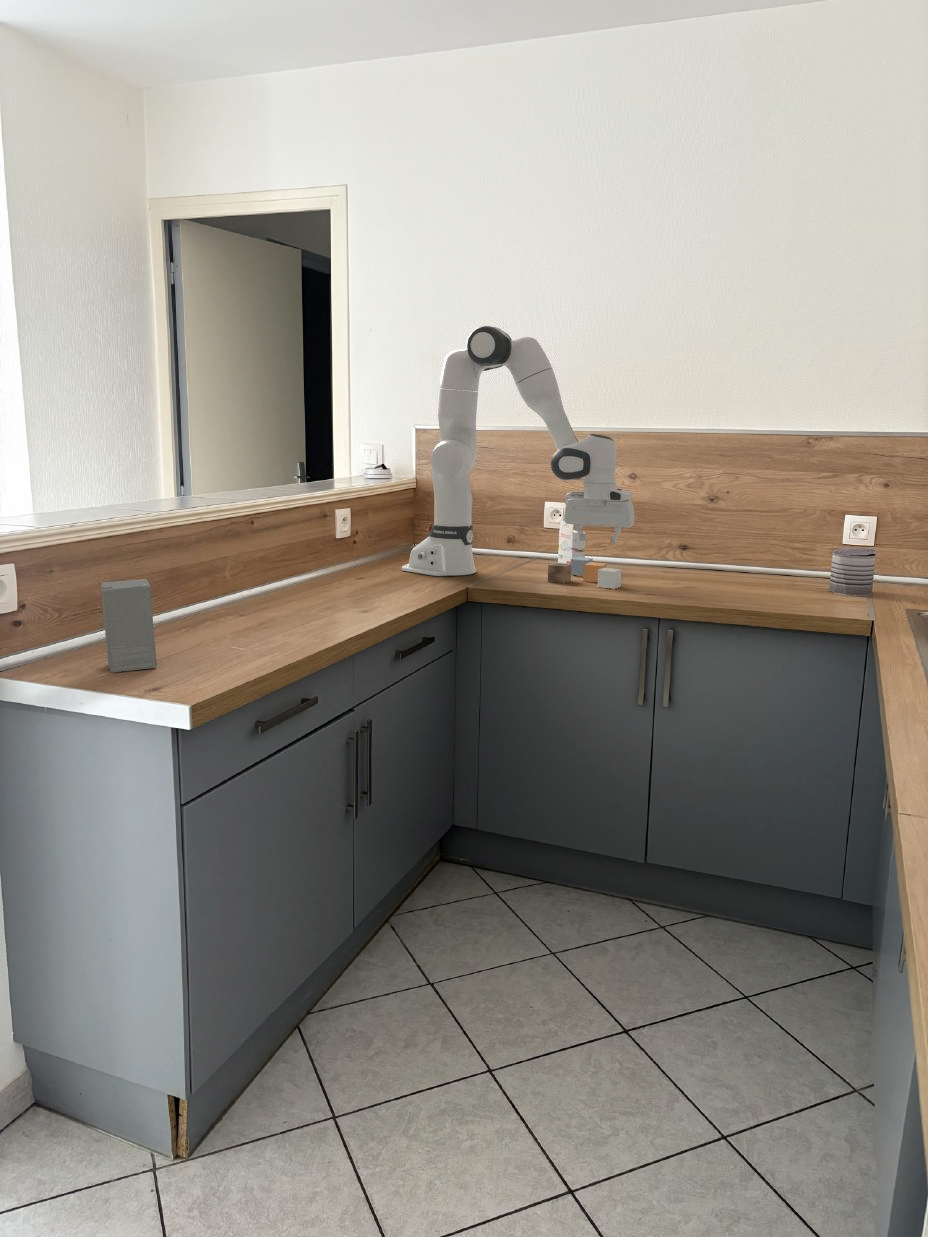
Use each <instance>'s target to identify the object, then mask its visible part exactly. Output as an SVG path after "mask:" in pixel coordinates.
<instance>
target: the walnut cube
mask: <svg viewBox="0 0 928 1237" xmlns="http://www.w3.org/2000/svg"><path fill="white" fill-rule="evenodd" d="M571 565H572V564H564V563H558V562H554V563H550V564H548V565H547V566H548V568H547V582H548V583H552V582H553V584H561V583H565V584H567V583H570V582H571V581H572V576H571ZM569 581H570V582H569ZM566 582H567V583H566Z"/></svg>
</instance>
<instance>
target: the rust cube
mask: <svg viewBox="0 0 928 1237" xmlns="http://www.w3.org/2000/svg"><path fill="white" fill-rule="evenodd" d="M607 566H608V565H607V563H601V562H594V561H593V562H589V563H587V564H584V574H583V577H582V578H583V580H582V581H583V582H585V581H588V583H594V582H598V570H599V569H602V568H608V567H607Z"/></svg>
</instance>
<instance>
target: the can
mask: <svg viewBox="0 0 928 1237" xmlns="http://www.w3.org/2000/svg"><path fill="white" fill-rule="evenodd" d="M877 554H878V550H876V549H872V548H863V547H860V548H859V547H857V548H856V547H854V548H852V547H851V548H849V547H847V548H839V549H835V550H832V559H831V565H830V567H831V568H830V577H829V578H830V579H829V585H828V591H829V590H830V591H833V592H835V593H841V594H845V595H856V596H855V597H860V596H861V597H870V596H871V595H872V594H873V588H874V576H875V568H876V559H877ZM845 595H844V596H845Z"/></svg>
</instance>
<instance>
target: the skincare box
mask: <svg viewBox="0 0 928 1237" xmlns="http://www.w3.org/2000/svg"><path fill="white" fill-rule="evenodd" d="M100 589H101V602H102V603H101V604H102V612H103V625H104V631H105V633H104V634H105V641H106V642H105V643H106V655H107V664H108V667H109V668H108V669H109V671H111V672H110V673H111V674H113V673H121V672H122V671H123V672H130V671H138V670H139V671H141V670H147V669H148V670H150V669H155V668H157V666H158V664H157V652H156V650H157V649H156V641H155V640H156V639H155V627H154V618H153V604H152V593H151V592H152V588H151V585H150V583H149V581H148V580H147V578H141V579H140V578H138V579H131V580H118V581H106V582H105V581H101V582H100Z"/></svg>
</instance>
